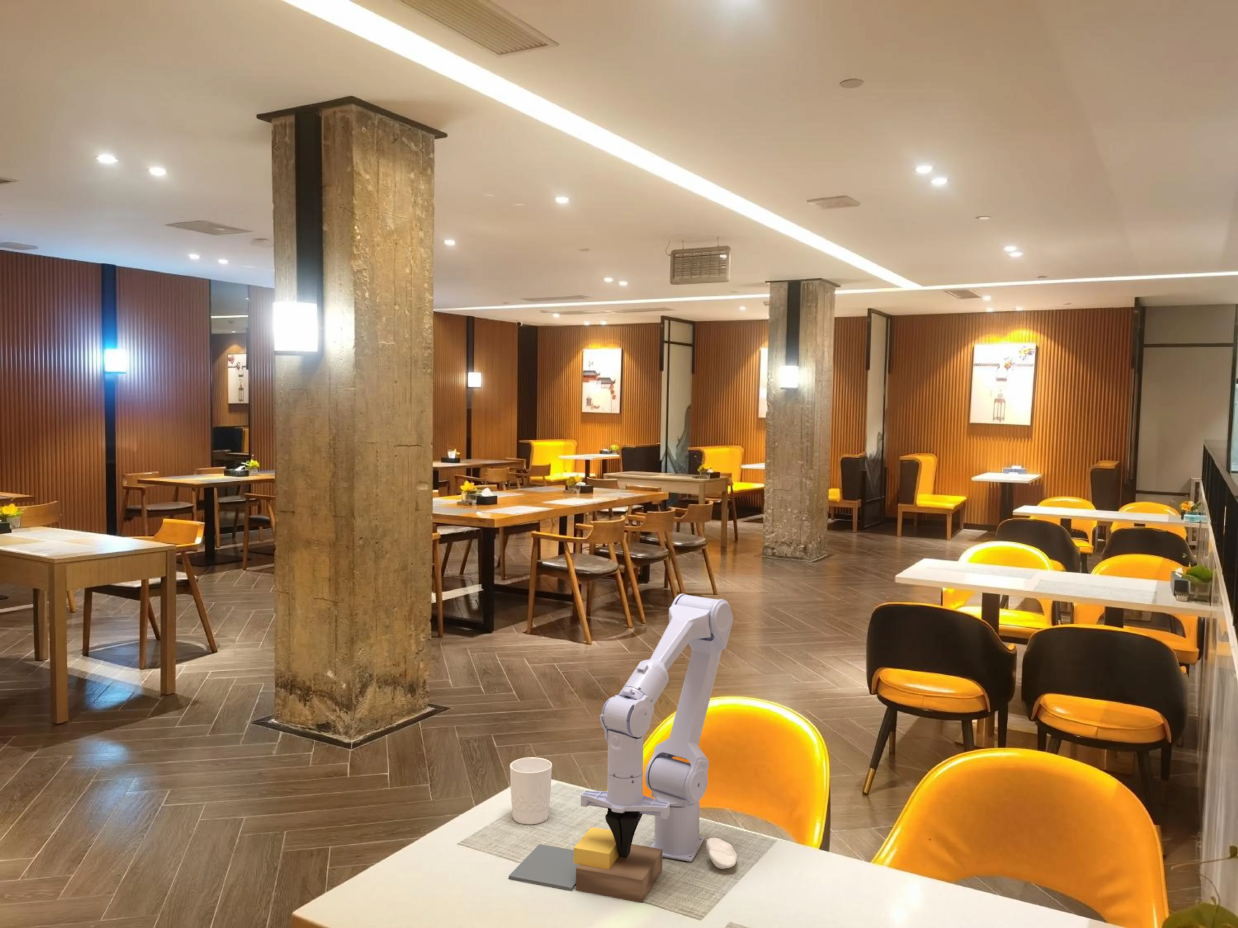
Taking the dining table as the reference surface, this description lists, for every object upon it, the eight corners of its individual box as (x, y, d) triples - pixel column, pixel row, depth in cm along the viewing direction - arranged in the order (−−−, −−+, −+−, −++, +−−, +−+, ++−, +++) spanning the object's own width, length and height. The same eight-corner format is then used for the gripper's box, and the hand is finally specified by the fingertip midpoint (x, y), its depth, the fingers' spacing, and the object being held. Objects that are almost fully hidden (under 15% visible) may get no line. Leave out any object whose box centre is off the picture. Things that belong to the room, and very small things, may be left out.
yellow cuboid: (591, 841, 150) (591, 826, 150) (624, 847, 149) (625, 832, 148) (573, 862, 143) (573, 847, 143) (609, 869, 141) (609, 853, 141)
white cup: (506, 810, 171) (506, 759, 170) (546, 806, 173) (546, 755, 173) (513, 828, 163) (514, 774, 163) (555, 823, 165) (556, 769, 165)
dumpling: (704, 855, 153) (704, 833, 153) (734, 856, 153) (735, 833, 153) (708, 875, 146) (708, 852, 146) (740, 876, 146) (740, 852, 146)
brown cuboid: (600, 858, 152) (600, 838, 152) (662, 869, 148) (662, 848, 148) (575, 889, 141) (576, 867, 141) (642, 902, 138) (642, 880, 138)
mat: (539, 846, 156) (539, 843, 156) (598, 856, 152) (598, 854, 152) (508, 878, 145) (508, 875, 145) (571, 890, 141) (571, 887, 141)
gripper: (574, 774, 142) (573, 858, 143) (661, 786, 138) (660, 873, 138) (589, 759, 149) (589, 839, 150) (673, 770, 144) (672, 853, 145)
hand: (624, 854), depth 144 cm, fingers closed
